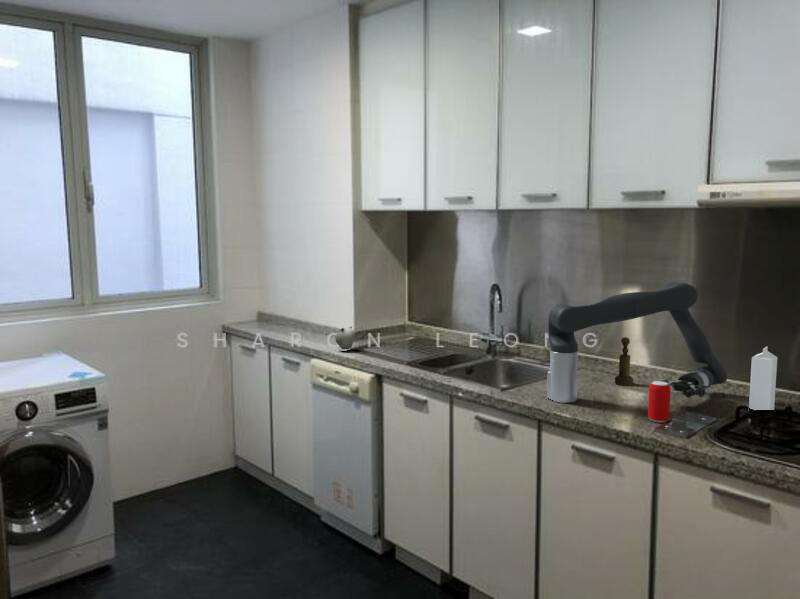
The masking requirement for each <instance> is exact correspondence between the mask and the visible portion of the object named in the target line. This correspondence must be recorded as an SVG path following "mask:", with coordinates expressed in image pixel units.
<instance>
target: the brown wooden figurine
mask: <svg viewBox="0 0 800 599" xmlns="http://www.w3.org/2000/svg"><path fill="white" fill-rule="evenodd" d="M620 342H621V345H622V346H623V348H621V350H622V354H619V362H618V363H619V366H618V367H619V368H618V375H616V376H615V377H614V384H615V383H616V384H615V385H618V386H626V387H628V386H634V377H632V376H631V355H629V354H628V353H629V349H628V346H629V344H630V338H629V337H625V336H624V337H622V338H621V340H620Z"/></svg>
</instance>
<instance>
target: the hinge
mask: <svg viewBox="0 0 800 599" xmlns="http://www.w3.org/2000/svg"><path fill="white" fill-rule="evenodd" d="M716 420H717V417H715V416H714V417H713V416H710V415H705V414H701V413H698V412H691V411H689V410H687V411H685V412H683V413H681V414H680V415H678V416H677V417H676V418H672V419H671V421H670V422H669V423H666V422H664V423H662V424H661V425H658V426H657V427H655V428H654V429H653V431H654V432H656V433H661V434H665V435H670V436H674V437H678V438H682V439H687V438H689V437H690V436H692V435H694V434H695V433H696V432H697V431H699V430H701V429H702V428H705V427H706V426H708V425H710V424H713V422H715V421H716Z"/></svg>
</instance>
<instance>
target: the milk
mask: <svg viewBox="0 0 800 599" xmlns="http://www.w3.org/2000/svg"><path fill="white" fill-rule="evenodd" d="M768 347H769V346H765V347H764V348H762V352H761V353H756V355H753V356H752V357H751V368H750V381H749V382H750V385H749V400H748V402H749V403H748V409H749V408H750V409H753V410H774V411H775V403H776V401H775V400H776V399H775V398H776V388H777V387H776V384H777V369H778V356H776V355H775V354H773V353H772V352H770V351H768V349H769V348H768Z"/></svg>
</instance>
